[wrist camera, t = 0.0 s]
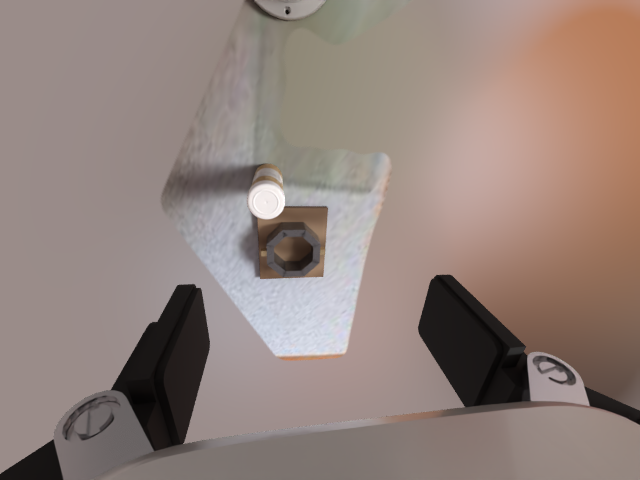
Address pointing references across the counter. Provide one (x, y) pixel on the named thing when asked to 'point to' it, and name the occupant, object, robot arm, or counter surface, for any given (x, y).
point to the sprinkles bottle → (266, 192)
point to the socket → (293, 267)
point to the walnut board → (293, 238)
